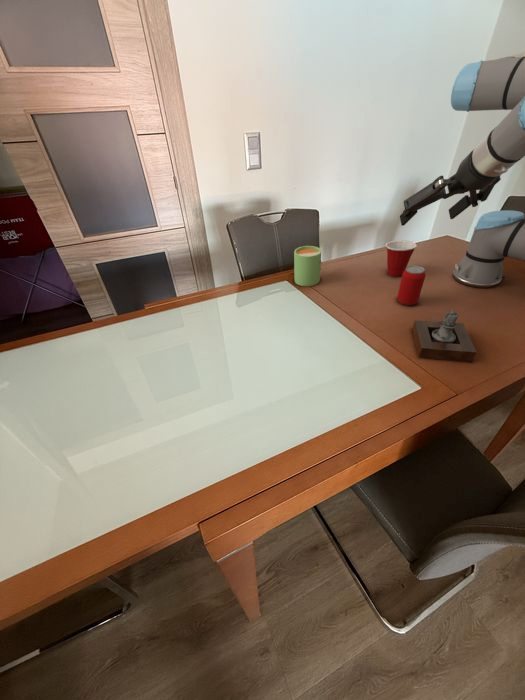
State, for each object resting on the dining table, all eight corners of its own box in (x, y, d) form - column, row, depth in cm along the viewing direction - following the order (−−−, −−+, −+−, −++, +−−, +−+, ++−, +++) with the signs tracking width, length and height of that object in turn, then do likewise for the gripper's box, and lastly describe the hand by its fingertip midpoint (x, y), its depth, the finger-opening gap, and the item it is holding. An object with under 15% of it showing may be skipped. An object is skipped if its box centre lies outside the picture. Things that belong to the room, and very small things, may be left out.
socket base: (459, 332, 89) (463, 323, 87) (471, 362, 80) (476, 352, 78) (411, 329, 92) (414, 320, 90) (418, 357, 83) (421, 347, 80)
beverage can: (417, 297, 106) (426, 265, 98) (417, 307, 101) (427, 274, 93) (396, 295, 108) (403, 263, 100) (396, 305, 103) (404, 272, 95)
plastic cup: (397, 265, 125) (404, 236, 117) (415, 276, 117) (423, 245, 109) (374, 270, 123) (379, 241, 115) (391, 282, 115) (398, 251, 107)
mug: (323, 284, 118) (325, 254, 110) (296, 287, 117) (296, 257, 110) (316, 270, 127) (317, 242, 120) (291, 273, 127) (291, 245, 119)
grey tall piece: (454, 352, 83) (470, 316, 75) (431, 351, 84) (445, 315, 76) (448, 339, 88) (462, 303, 80) (426, 338, 89) (438, 303, 81)
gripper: (431, 186, 59) (383, 236, 80) (552, 171, 60) (473, 224, 81) (424, 150, 59) (378, 210, 80) (543, 136, 61) (468, 198, 82)
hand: (426, 217), depth 81 cm, fingers open, 13 cm apart
